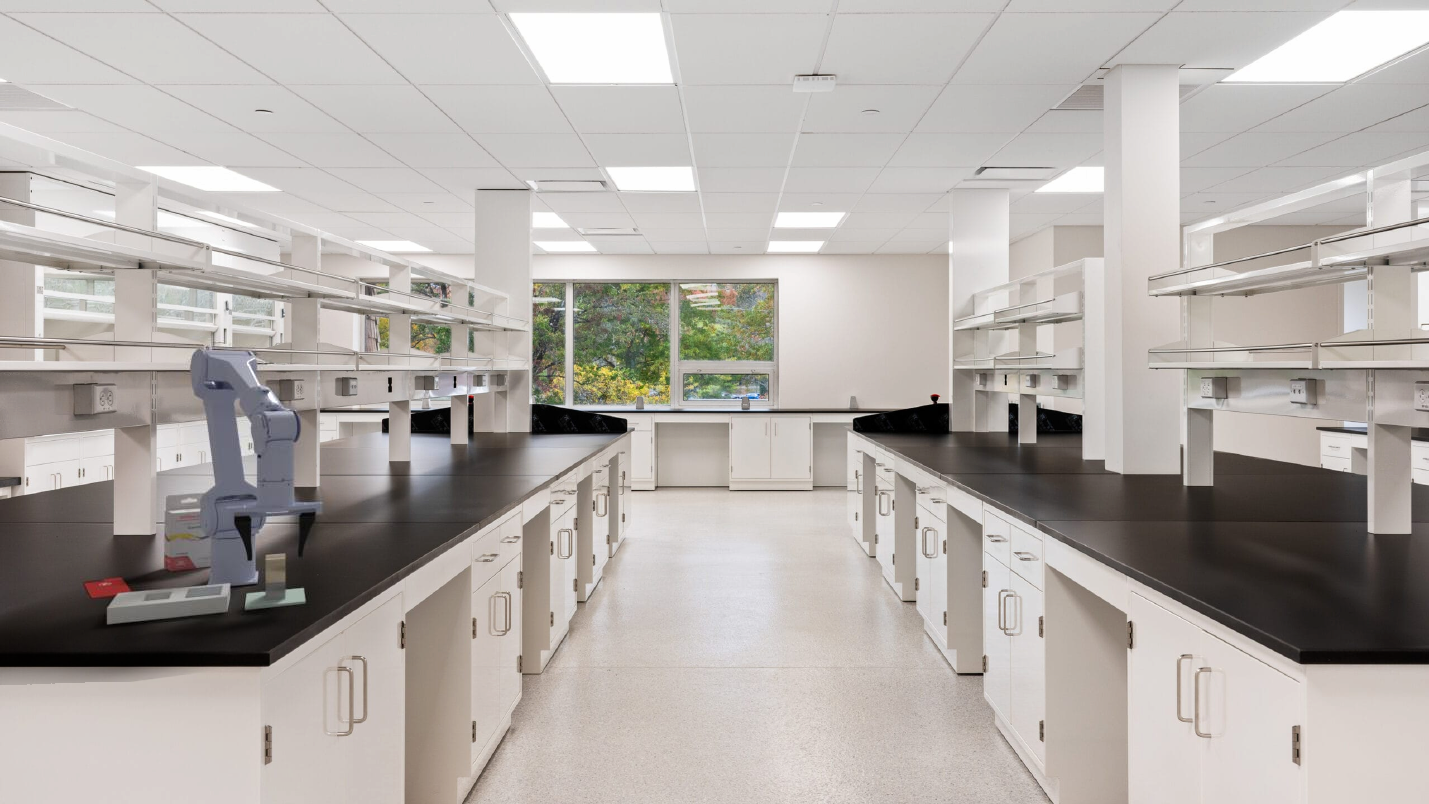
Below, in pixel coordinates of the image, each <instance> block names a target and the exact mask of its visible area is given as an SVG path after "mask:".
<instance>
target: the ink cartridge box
mask: <svg viewBox="0 0 1429 804" xmlns="http://www.w3.org/2000/svg"><path fill="white" fill-rule="evenodd" d="M205 493H206V492H200V493H199V492H198V493H197V492H195V493H194V492H193V493H181V494H168V495H166V498H165V511H164V534H163V535H164V539H163V540H164V541H163V543H164V544H163V546H164V547H163V550H164V551H163V554H164V555H163V556H164V557H163V568H165V569H166V570H168V571H169V572H176V571H179V572H180V571H186V570H193V569H200V568H209V567H210V568H211V537H209V536H207V535H206V534H205V533H204V532H203V531H202V529H201V526H200V519H199V516H200V500H201V498H202V496H203V495H204V494H205ZM188 499H191V500H196V501H189V502H182V501H183V500H188Z"/></svg>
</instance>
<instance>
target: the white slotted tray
mask: <svg viewBox="0 0 1429 804" xmlns="http://www.w3.org/2000/svg"><path fill="white" fill-rule="evenodd" d="M230 599H231V586H230V583H226V584H215V585H207V584H206V585H205V584H204V585H195V586H194V585H193V586H187V587H186V586H184V587H183V586H182V587H173V588H172V587H171V588H162V589H152V590H151V589H150V590H149V589H148V590H141V591H140V590H139V591H132V592H126V593H118V594H117V595H116V596H114V598H113V599H112V601H111V602H110V604H109V605H108V606H107V607H106V625H113V624H121V623H123V624H124V623H131V622H142V621H144V622H145V621H152V620H153V621H154V620H160V619H162V620H163V619H172V618H179V617H180V618H181V617H182V618H183V617H190V616H199V615H200V616H201V615H210V614H217V613H218V614H219V613H227V612H228V609H229V604H230V602H231V601H230Z"/></svg>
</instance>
